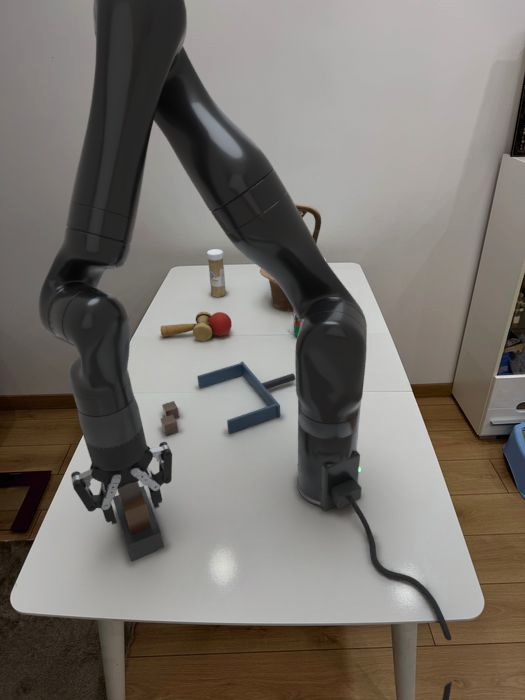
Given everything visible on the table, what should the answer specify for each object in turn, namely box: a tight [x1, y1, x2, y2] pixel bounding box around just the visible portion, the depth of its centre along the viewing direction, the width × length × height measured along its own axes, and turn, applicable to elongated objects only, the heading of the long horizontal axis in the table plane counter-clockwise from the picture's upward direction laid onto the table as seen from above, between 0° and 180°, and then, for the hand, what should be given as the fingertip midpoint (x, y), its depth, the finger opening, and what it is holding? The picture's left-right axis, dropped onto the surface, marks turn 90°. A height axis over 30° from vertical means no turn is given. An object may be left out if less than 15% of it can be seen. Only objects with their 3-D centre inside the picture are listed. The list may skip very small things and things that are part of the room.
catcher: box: [197, 361, 296, 434], centre depth 102 cm, size 18×19×3 cm
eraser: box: [112, 481, 165, 562], centre depth 73 cm, size 10×5×8 cm, turn 26°
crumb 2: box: [160, 415, 179, 436], centre depth 94 cm, size 2×2×2 cm
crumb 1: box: [161, 400, 180, 420], centre depth 97 cm, size 2×2×2 cm
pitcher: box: [259, 202, 322, 312], centre depth 131 cm, size 18×17×28 cm
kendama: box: [159, 310, 232, 342], centre depth 124 cm, size 8×6×18 cm
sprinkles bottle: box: [206, 248, 227, 298], centre depth 142 cm, size 5×5×13 cm
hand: (134, 511), depth 73 cm, fingers open, 5 cm apart
